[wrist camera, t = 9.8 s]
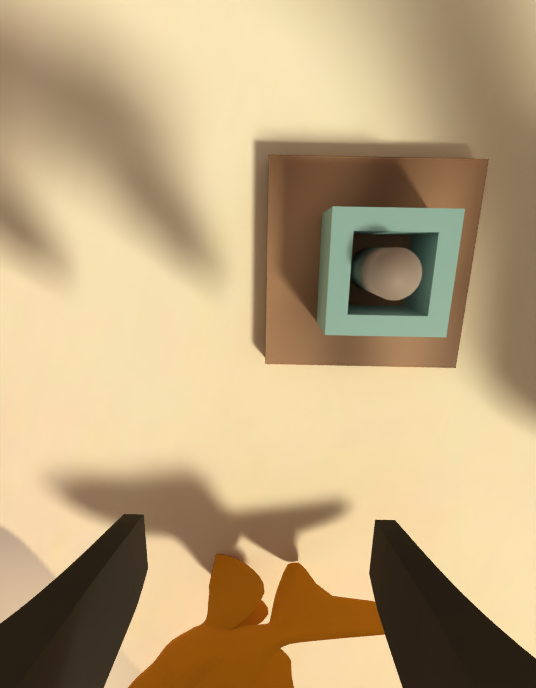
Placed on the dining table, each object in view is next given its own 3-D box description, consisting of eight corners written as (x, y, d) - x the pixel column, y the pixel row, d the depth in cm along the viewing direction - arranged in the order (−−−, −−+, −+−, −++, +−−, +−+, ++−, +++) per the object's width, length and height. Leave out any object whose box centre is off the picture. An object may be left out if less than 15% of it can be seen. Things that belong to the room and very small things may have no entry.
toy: (94, 611, 21) (91, 866, 12) (325, 502, 27) (440, 618, 18) (105, 645, 21) (111, 912, 12) (328, 532, 27) (440, 658, 18)
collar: (432, 215, 17) (464, 208, 14) (418, 323, 18) (446, 337, 16) (322, 213, 17) (332, 206, 14) (316, 321, 18) (325, 335, 16)
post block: (476, 163, 17) (554, 131, 13) (446, 362, 20) (502, 398, 15) (269, 160, 18) (268, 126, 13) (265, 358, 20) (263, 393, 15)
